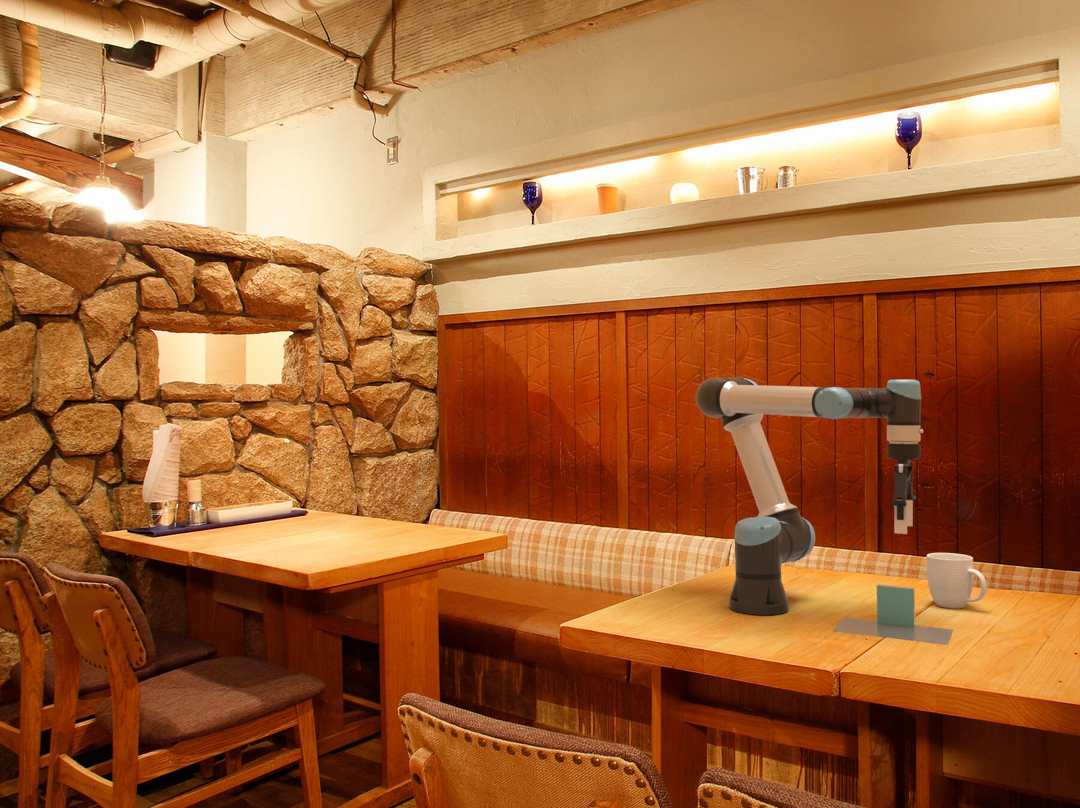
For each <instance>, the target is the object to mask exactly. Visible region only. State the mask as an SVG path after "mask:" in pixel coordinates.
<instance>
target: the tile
mask: <svg viewBox="0 0 1080 808" xmlns="http://www.w3.org/2000/svg"><path fill="white" fill-rule="evenodd" d="M915 592H916V591H915V587H912V586H903V585H895V584H894V585H892V584H883V583H882V584H881V583H877V584H876V616H877V617H876V619H877V620H876V621H877V624H886V625H894V626H903V627H912V628H914V627H915V625H916V607H915V606H916V605H915V604H916V603H915V602H916V599H915Z"/></svg>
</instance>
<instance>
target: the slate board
mask: <svg viewBox="0 0 1080 808" xmlns="http://www.w3.org/2000/svg"><path fill="white" fill-rule="evenodd" d="M831 631H832V632H839V633H846V634H855V635H862V636H863V635H865V636H870V637H880V638H887V639H888V638H889V639H896V640H904V641H912V642H920V643H926V644H927V643H929V644H937V645H945V646H947V645H948V646H949V643H950V640H951V637H952V634H953V632H954V629H952V628H951V629H950V628H944V627H943V628H941V627H934V626H925V625H916V624H915V627H914V628H912V627H903V626H894V625H886V624H877V620H873V619H872V620H870V619H864V618H863V619H861V618H854V617H846V616H844V617H843V618H842V619H841V620H840V621H839V622H838V624H836V626H835V627H834V628H833V629H832V630H831Z"/></svg>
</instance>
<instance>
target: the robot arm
mask: <svg viewBox="0 0 1080 808" xmlns="http://www.w3.org/2000/svg"><path fill="white" fill-rule="evenodd" d="M920 383H921V382H920V381H918V380H917V379H889V380H888V381H887V383H886V387H877V388H876V387H839V386H830V387H827V386H822V387H820V386H792V385H758V384H757V382H756V381H753V380H751V379H749V378H744V377H739V376H736V377H735V376H734V377H721V376H719V377H718V376H716V377H715V376H714V377H709V378H707V379H705V380H704V381H702V382H701V384H699V385H698V387H697V389H696V392H695V404H696V406H697V408H698V410H699V411H700V412H701V413H702V414H703V415H704V416H706V417H709V418H713V419H720V422H721V424H722V426H723V429H724V430H725V431H726V432H729V433H730V434H731V437H732V439H733V442H734V445H735V448H736V450H737V453H738V456H739V459H740V462H741V464H742V465H741V466H742V467H743V471H744V474H745V476H746V478H747V482H748V483H749V484H748V485H749V486H750V490H751V493H752V495H753V497H754V498H753V499H754V501H755V504H756V506H757V509H758V512H759V513H758V515H757V516H755V517H746V518H743V519H741V520H739V521H738V522H737V523H736V524H735V526H734V537H733V539H734V553H735V554H734V556H735V557H734V559H735V562H734V563H735V566H734V567H735V578H734V582H733V586H732V589H731V593H730V595H729V599H728V601H729V602H728V603H729V605H728V607H729V609H731V610H732V611H734V612H737V613H740V614H745V615H746V614H748V615H757V616H771V615H772V616H774V615H775V616H776V615H783V614H785V613H787V612H789V611H790V605H789V604H790V602H789V598H788V596H787V593H786V590H785V587H784V584H783V582H782V581H783V580H782V564H783V565H784V564H787V563H791V562H793V563H794V562H797V561H800V560H801V559H803V558H806V557H807V556H808V555H809V554H810V553H811V552H812V551H813V548H814V547H815V543H816V533H815V529H814V527H813V525H812V524H811V522H809V520H807V519H805V518H804V517H803V516H801V514H800V511H799V509H798V506H796V505H794V504H792V503H790V500H789V498H788V495H787V492H786V490H785V489H786V488H785V487H784V484H783V482H782V479H781V476H780V473H779V470H778V468H777V465H776V462H775V460H774V457H773V455H772V452H771V448H770V446H769V444H768V440H767V438H766V435H765V432H764V430H763V427H762V424H761V422H762V420H763V418H764V415H771V416H790V417H791V416H793V417H809V418H811V417H812V418H823V419H828V420H829V419H830V420H839V419H840V420H841V419H875V418H876V419H886V421H887V422H886V441H887V442H889V443H887V444H886V456H887V459H891V460H897V463H895V465H894V468H893V472H894V478H893V479H894V489H893V501H891V502H890V506H893V507H894V512H893V514H894V520H893V521H894V526H893V527H894V533H893V534H900V535H901V534H902V535H908V527H913V526H914V525H913V523H914V522H913V521H914V520H913V517H914V515H913V509H914V506H913V505H914V504H913V503H914V501H915V500H916V499H917V496H916V495H914V487H913V486H914V485H913V484H914V483H913V479H914V478H913V477H914V475H913V474H914V466H913V460H920V459H921V457H922V455H921V453H922V449H921V448H922V445H921V444H920V443H919V442H921V436H922V435H921V434H923V433H924V429H923V428H921V419H922V417H921V416H922V415H921V414H922V413H921V412H922V411H921V410H922V393H921V384H920Z"/></svg>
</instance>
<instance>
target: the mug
mask: <svg viewBox="0 0 1080 808" xmlns="http://www.w3.org/2000/svg"><path fill="white" fill-rule="evenodd" d="M974 568H975V567H974V557H972V556H971V555H967V554H961V553H953V552H952V553H951V552H932V553H928V554H926V577H927V584H928V588H929V593H930V595H931V597H932V600H933V602H934V603H935V605H936V606H938V607H941V608H945V609H963V608H965V607H966V606H967V604H968V603H974V602H975V603H976V602H979V601H981V600H983V599H984V598H985V596H986V594H987V589H988V588H987V587H988V585H987V580H986V578H985V576H984V575H983V574H982V573H981V572H980V571H979V570H977V569H974ZM974 575H975V576H976V577H977V578H978V579H979V582H980V583H979V584H980V586H981V587H980V588H981V589H980V590H981V591H980V594H979V595H978V596H977V597H974V598H973V597H971V596H972V593H973V589H974V587H973V586H974V578H975V577H974Z"/></svg>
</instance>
